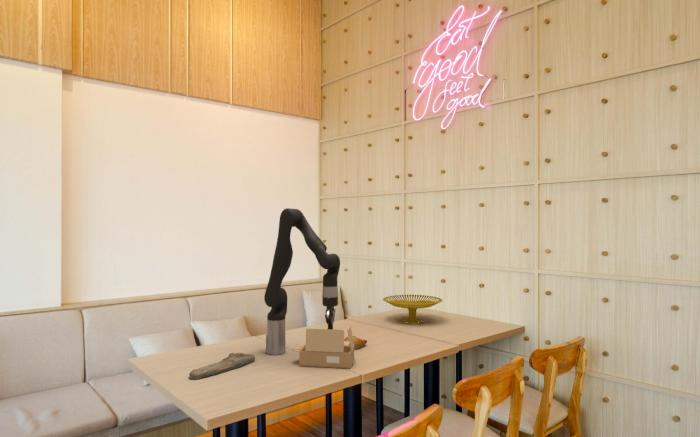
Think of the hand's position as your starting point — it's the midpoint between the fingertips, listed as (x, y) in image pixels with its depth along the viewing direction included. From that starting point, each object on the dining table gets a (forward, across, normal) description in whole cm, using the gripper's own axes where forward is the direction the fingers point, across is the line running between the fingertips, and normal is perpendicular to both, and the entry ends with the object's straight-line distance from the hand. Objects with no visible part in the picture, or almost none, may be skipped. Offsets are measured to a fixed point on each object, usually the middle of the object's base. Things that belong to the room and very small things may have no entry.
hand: (330, 331), depth 217 cm
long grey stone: (+15, +17, -46) cm, 52 cm away
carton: (+14, -1, -3) cm, 15 cm away
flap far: (+7, +2, +11) cm, 14 cm away
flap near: (+7, +9, -1) cm, 11 cm away
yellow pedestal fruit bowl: (+15, -96, +36) cm, 104 cm away
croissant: (+15, -25, +5) cm, 30 cm away
